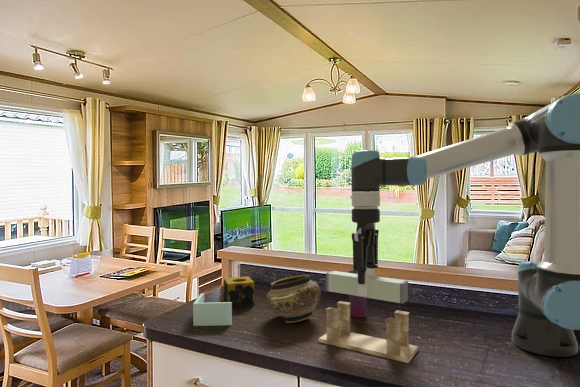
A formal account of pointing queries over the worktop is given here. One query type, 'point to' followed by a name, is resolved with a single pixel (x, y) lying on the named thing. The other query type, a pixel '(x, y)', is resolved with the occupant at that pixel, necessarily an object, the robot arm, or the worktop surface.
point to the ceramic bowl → (293, 298)
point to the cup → (357, 303)
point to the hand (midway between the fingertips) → (366, 293)
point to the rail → (376, 286)
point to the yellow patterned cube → (239, 291)
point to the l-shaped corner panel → (211, 313)
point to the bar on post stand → (389, 348)
